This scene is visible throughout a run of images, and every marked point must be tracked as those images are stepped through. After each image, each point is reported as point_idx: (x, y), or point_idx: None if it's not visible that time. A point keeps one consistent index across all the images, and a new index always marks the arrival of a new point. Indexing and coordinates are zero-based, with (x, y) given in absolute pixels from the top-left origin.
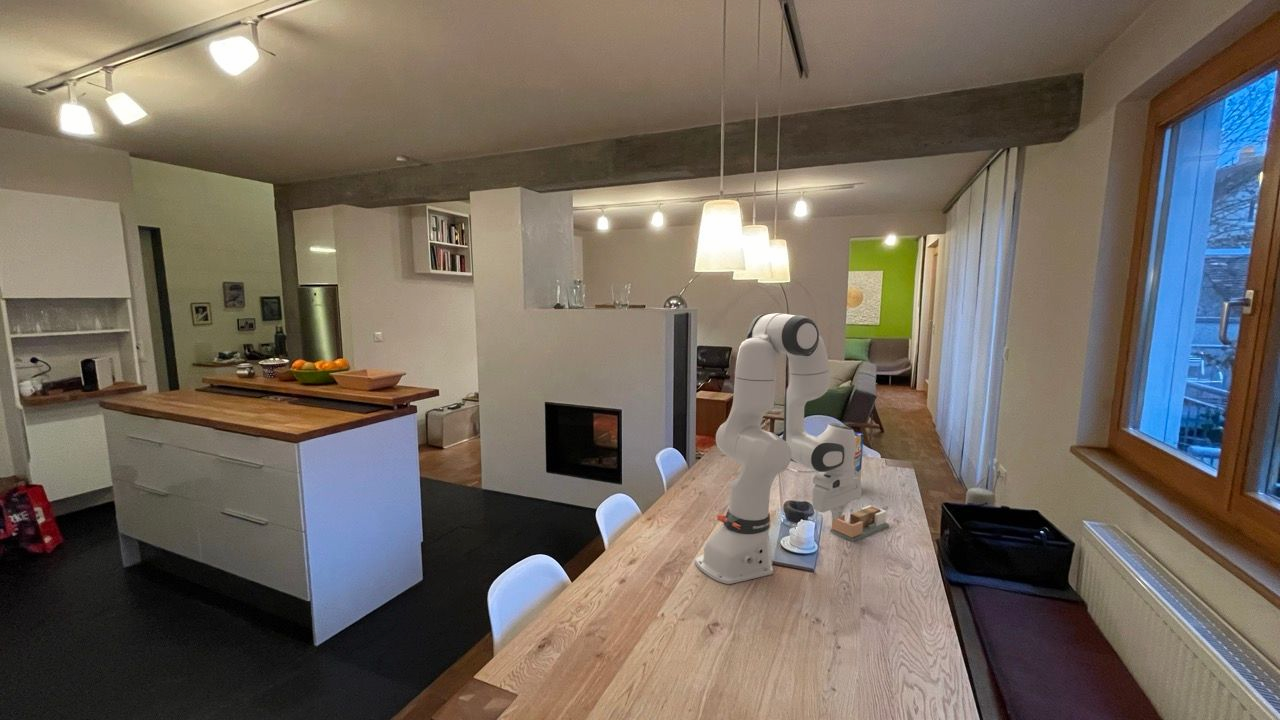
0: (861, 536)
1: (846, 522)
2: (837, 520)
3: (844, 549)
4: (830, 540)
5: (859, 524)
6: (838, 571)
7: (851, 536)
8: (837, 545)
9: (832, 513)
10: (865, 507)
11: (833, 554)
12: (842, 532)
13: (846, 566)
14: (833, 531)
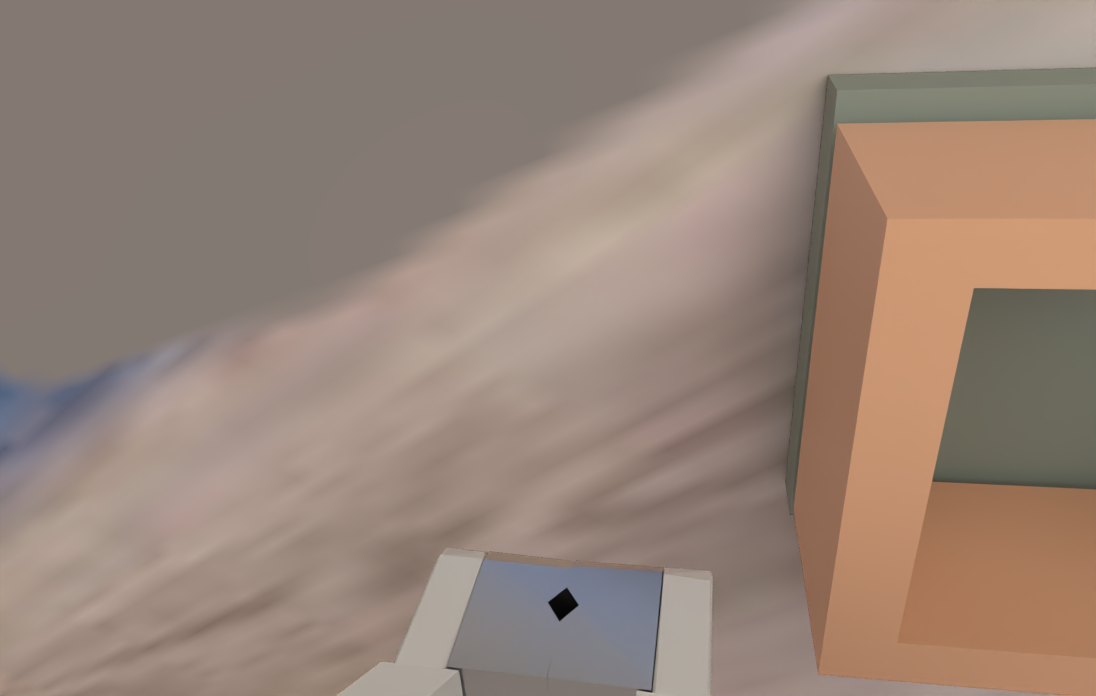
0: None
1: (895, 545)
2: (862, 357)
3: (485, 515)
4: (525, 281)
5: (1071, 679)
6: (84, 667)
7: (798, 510)
8: (491, 418)
9: (405, 660)
10: None
11: (258, 505)
12: (814, 363)
13: (217, 670)
14: (823, 157)
